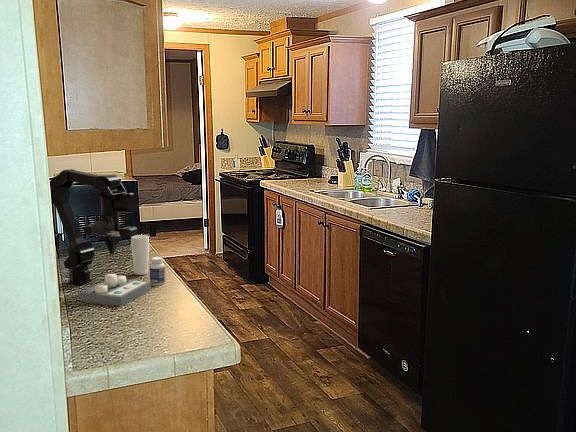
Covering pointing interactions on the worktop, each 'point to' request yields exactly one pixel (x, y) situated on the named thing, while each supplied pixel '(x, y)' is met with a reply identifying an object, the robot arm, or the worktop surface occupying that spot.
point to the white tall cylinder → (140, 253)
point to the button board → (116, 293)
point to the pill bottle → (157, 271)
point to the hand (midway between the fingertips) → (112, 254)
